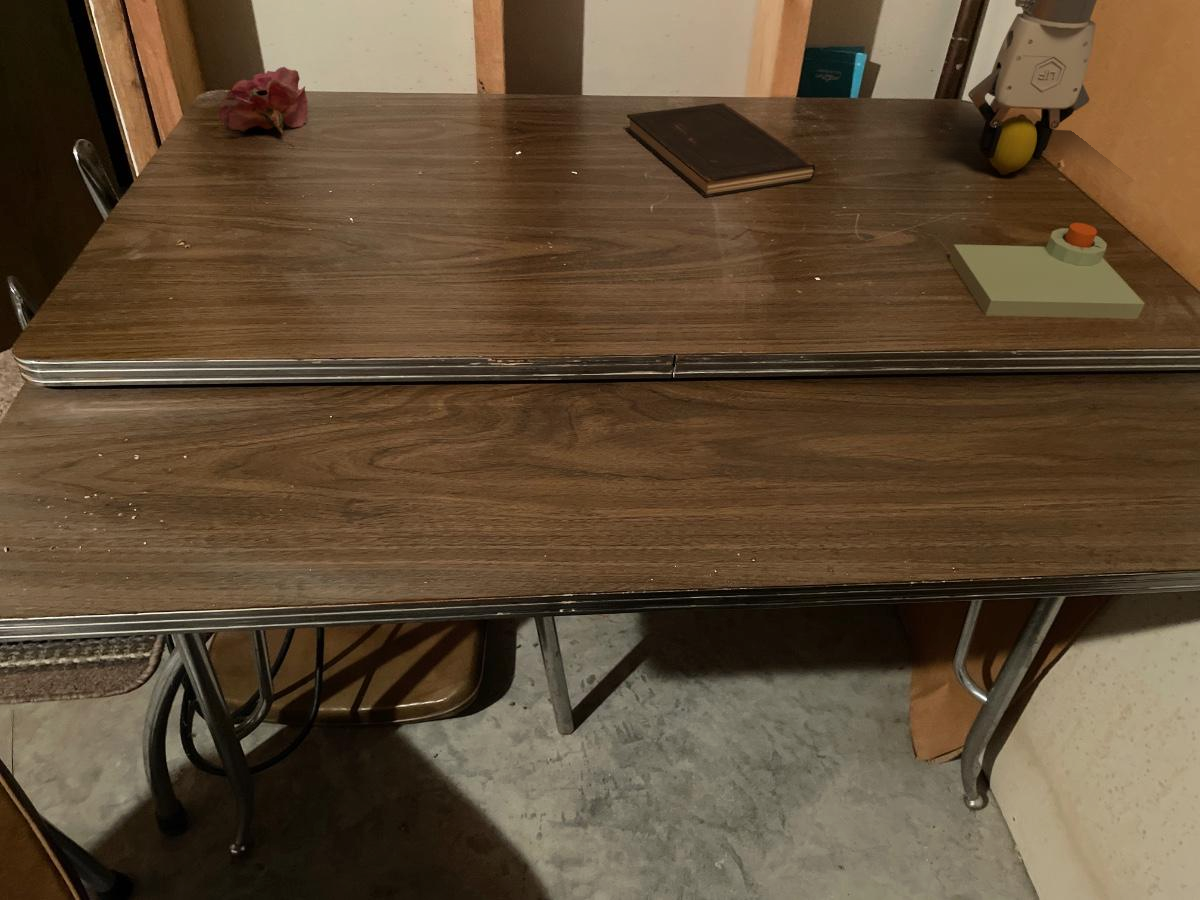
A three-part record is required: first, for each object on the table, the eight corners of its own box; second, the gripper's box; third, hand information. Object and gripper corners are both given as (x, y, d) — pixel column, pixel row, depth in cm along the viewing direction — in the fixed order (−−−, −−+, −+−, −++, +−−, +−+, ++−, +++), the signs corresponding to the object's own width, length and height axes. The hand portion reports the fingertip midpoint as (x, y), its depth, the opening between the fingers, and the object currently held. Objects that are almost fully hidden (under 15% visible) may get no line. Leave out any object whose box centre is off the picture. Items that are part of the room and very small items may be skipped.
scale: (1082, 257, 104) (1094, 228, 102) (1137, 319, 94) (1151, 289, 92) (944, 253, 104) (953, 225, 102) (985, 316, 94) (996, 286, 91)
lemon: (1030, 184, 120) (1052, 123, 114) (988, 182, 120) (1008, 121, 114) (1016, 167, 124) (1036, 107, 119) (975, 165, 124) (994, 106, 119)
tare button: (1084, 237, 101) (1090, 222, 100) (1095, 249, 99) (1101, 234, 98) (1059, 236, 101) (1065, 222, 100) (1070, 248, 99) (1076, 234, 98)
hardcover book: (704, 198, 113) (707, 180, 111) (626, 130, 128) (626, 114, 127) (813, 180, 118) (816, 163, 116) (724, 118, 134) (726, 102, 132)
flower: (234, 152, 126) (237, 77, 125) (309, 159, 127) (312, 85, 126) (209, 131, 114) (211, 48, 113) (291, 138, 115) (294, 57, 115)
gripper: (999, 12, 105) (954, 164, 117) (1144, 18, 106) (1085, 168, 117) (977, -5, 111) (936, 142, 122) (1115, 0, 112) (1061, 145, 123)
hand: (1009, 153), depth 120 cm, fingers closed on lemon, 5 cm apart
